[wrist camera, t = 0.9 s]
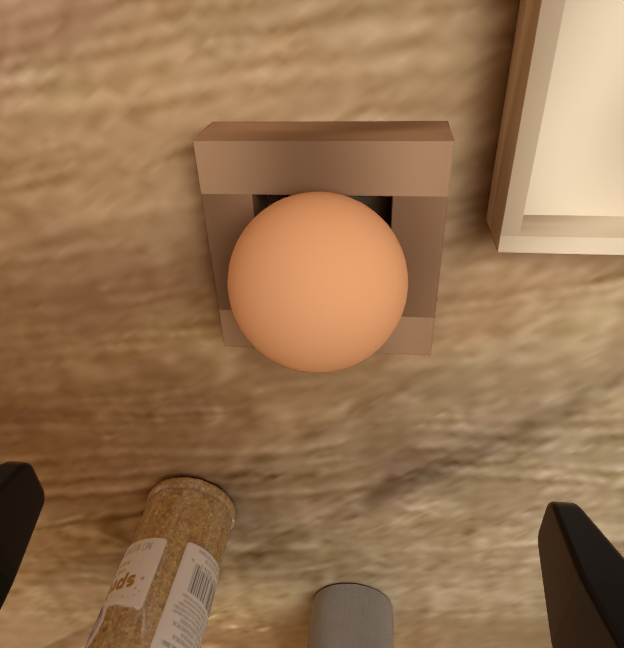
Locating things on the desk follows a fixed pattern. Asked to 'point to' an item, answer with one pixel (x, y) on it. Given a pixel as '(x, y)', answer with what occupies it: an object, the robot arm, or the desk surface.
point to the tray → (562, 132)
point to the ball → (317, 282)
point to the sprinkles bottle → (168, 569)
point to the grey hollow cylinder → (351, 618)
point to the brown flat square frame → (336, 177)
